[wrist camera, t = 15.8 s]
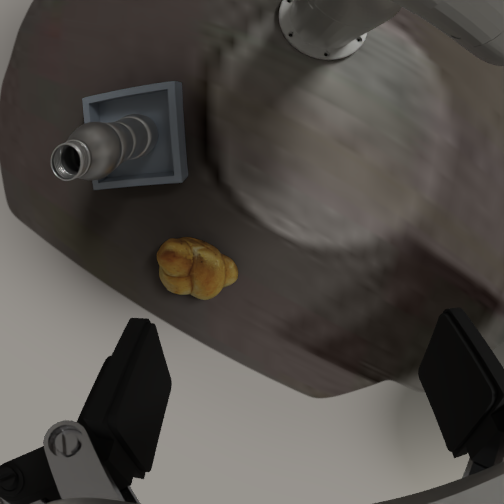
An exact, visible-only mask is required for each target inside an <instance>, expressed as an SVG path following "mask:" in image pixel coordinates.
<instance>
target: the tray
mask: <svg viewBox="0 0 504 504" xmlns="http://www.w3.org/2000/svg"><path fill="white" fill-rule="evenodd" d="M82 100H83V112H84V123H89V122H106V123H109V122H115V121H118V120H119V119H121V118H123V117H125V116H127V115H130V114H141V115H145V116H147V117H149V118H150V119H152V120H153V121H154V123H155V124H156V126H157V130H158V139H157V142H156V144H155V146H154V148H153V149H152V150H151V151H150V152H149V153H148V154H147V155H145V156H143V157H141V158H138V159H130V160H126V161H124V162H123V163H121V164H120V165H119V166H118V167H117V168H116V169H115V170H114V171H112V172H111V173H110V174H109V175H107V176H106V177H104V178H102V179H99V180H92V183H93V189H94V190H100V189H110V188H120V187H131V186H142V185H155V184H169V183H182V182H183V181H184V180H185V179H186V178H187V177H188V166H187V154H186V141H185V127H184V112H183V95H182V82H177V81H170V82H163V83H156V84H150V85H144V86H138V87H132V88H127V89H122V90H117V91H112V92H107V93H103V94H98V95H94V96H90V97H86V98H82Z"/></svg>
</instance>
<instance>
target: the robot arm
mask: <svg viewBox="0 0 504 504" xmlns="http://www.w3.org/2000/svg"><path fill="white" fill-rule="evenodd" d="M287 1H288V0H283V1H282V2H281V5H280V9H279V14H278V15H279V24H280V28H281V31H282V33H283V35H284V36H285V38H286V39H287V40H288V42H289V43H290V44H291V45H292V46H293V47H294V48H295V49H297V50H298V51H300V52H301V53H303V54H305V55H307V56H310V57H313V58H316V59H321V60H337V59H341V58H345V57H347V56H349V55H351V54H353V53H354V52H356V51H357V50H358V49H359V48H360V47H361V46H362V45H363V43H364V42H365V39H366V37H367V34H368V32H369V31H370V30H372V29H374V28H376V27H378V26H379V25H381V24H383V23H385V22H386V21H388V20H390V19H391V18H393V17H394V16H395V15H396V14H397V13H398V12H399V11H400V9H401V8H402V7H403V8H405V9H407V10H408V11H410V12H412V13H413V14H416V15H418V16H420V17H421V18H423V19H424V20H426V21H427V22H429V23H430V24H432V25H433V26H435V27H436V28H438V29H439V30H441V31H442V32H443V33H445V34H446V35H448V36H449V37H450V38H452V39H453V40H454V41H456V42H457V43H458V44H460V45H461V46H463V47H464V48H465V49H466V50H468V51H469V52H471V53H472V54H473V55H475V56H476V57H478V58H479V59H481V60H483V61H485V62H487V63H489V64H492V65H497V66H504V0H289V1H290V3H289V2H287ZM289 34H292V37H290V36H289ZM356 39H358V40H359V42H358V41H357V40H356ZM324 53H326V54H327V56H324ZM418 375H419V379H420V381H421V383H422V386H423V388H424V390H425V393H426V395H427V397H428V400H429V402H430V405H431V407H432V409H433V412H434V414H435V417H436V419H437V422H438V425H439V427H440V430H441V432H442V435H443V438H444V440H445V443H446V446H447V448H448V450H449V451H451V452H452V453H453V456H454V458H456V457H459V456H462V455H465V454H467V453H468V454H469V456H470V458H469V461H468V464H467V467H466V470H465V472H464V475H463V477H462V479H459V480H457V481H454V482H451V483H448V484H445V485H442V486H439V487H436V488H433V489H430V490H426V491H423V492H419V493H416V494H412V495H408V496H405V497H401V498H396V499H392V500H388V501H383V502H379V503H374V504H504V369H503V367H502V365H501V364H500V363H499V361H498V359H497V358H496V356H495V355H494V353H493V352H492V350H491V349H490V347H489V346H488V344H487V343H486V341H485V340H484V338H483V337H482V336H481V334H480V333H479V331H478V330H477V328H476V327H475V326H474V324H473V323H472V322H471V320H470V319H469V317H468V316H467V315H466V313H465V312H464V311H463V310H462V309H461V308H450V309H445V310H444V312H443V314H441V315H440V316H439V319H438V321H437V324H436V327H435V330H434V332H433V335H432V338H431V340H430V343H429V345H428V348H427V350H426V353H425V355H424V358H423V360H422V362H421V365H420V367H419V371H418ZM170 391H171V377H170V374H169V371H168V367H167V364H166V361H165V357H164V354H163V350H162V347H161V344H160V340H159V336H158V333H157V329H156V326H155V324H153V323H150V321H149V319H143V318H131V319H130V320H129V322H128V324H127V326H126V328H125V330H124V332H123V334H122V336H121V338H120V340H119V342H118V344H117V346H116V348H115V350H114V352H113V354H112V356H109V357H108V358H107V359H106V360H105V362H104V364H103V366H102V368H101V370H100V372H99V374H98V377H97V379H96V381H95V383H94V385H93V387H92V389H91V391H90V394H89V396H88V398H87V400H86V402H85V405H84V407H83V409H82V411H81V414H80V416H79V418H78V421H77V422H74V421H61V422H58V423H56V424H54V425H53V426H52V427H51V428H50V429H49V430H48V431H47V433H46V435H45V437H44V442H43V443H44V446H43V447H41V448H38V449H36V450H34V451H32V452H29V453H27V454H25V455H22V456H20V457H18V458H16V459H13V460H11V461H8V462H6V463H4V464H2V465H1V466H0V504H140V502H139V501H138V499H137V497H136V496H135V494H134V493H133V491H132V489H131V487H130V485H131V483H132V479H133V477H135V478H141V479H144V476H145V472H150V470H151V468H152V464H153V459H154V455H155V451H156V447H157V443H158V439H159V434H160V430H161V426H162V422H163V418H164V414H165V410H166V406H167V403H168V399H169V395H170Z"/></svg>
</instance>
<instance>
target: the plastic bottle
mask: <svg viewBox="0 0 504 504" xmlns="http://www.w3.org/2000/svg"><path fill="white" fill-rule="evenodd" d="M157 139H158V130H157V126H156V124H155V123H154V121H153V120H152V119H150V118H149V117H147V116H145V115H141V114H130V115H127V116H125V117H123V118H121V119H119V120H118V121H115V122H109V123H106V122H89V123H85V124H83V125H81V126H80V127H78V128H77V129H76V130H75V131H74V132H73V133H72V134H71V135H70V136H69V138H68V140H67V141H66V142H65V143H62V144H60V145H59V146H57V147H56V148H55V149H54V151H53V153H52V155H51V168H52V171H53V173H54V174H55V175H56V176H57V177H58V178H59V179H61V180H63V181H70V180H73V179H75V178H80V179H83V180H91V181H92V180H99V179H102V178H104V177H106V176H107V175H109V174H110V173H111V172H112V171H114V170H115V169H116V168H117V167H118V166H119V165H120V164H121V163H123V162H124V161H126V160H130V159H138V158H141V157H143V156H145V155H147V154H148V153H149V152H150V151H151V150H152V149H153V148H154V146H155V144H156V142H157Z"/></svg>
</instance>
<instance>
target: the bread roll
mask: <svg viewBox="0 0 504 504" xmlns="http://www.w3.org/2000/svg"><path fill="white" fill-rule="evenodd" d="M157 261H158V263H159V266H160V267H159V277H160V279H161V281H162V283H163V285H164V286H165V287H166V288H167V290H168V291H170V292H172V293H175V294H180V295H186V294H191V295H192V296H194V297H196V298H198V299H202V300H207V299H211V298H213V297H214V296H216V295H217V294H218V293H219V292H220V291H221V290H222V288H223V287H226V286H229V285H231V284H232V283H234V282H235V281H236V280H237V278H238V269H237V266H236V264H235V263H234V261H233V260H232V259H231V258H229V257H228V256H225V255H224V254H221V253H220V252H219V250H218V249H217V248H215V247H214V246H213V245H210V244H209V243H207V242H205V241H202V240H199V239H195V238H191V237H182V238H178V239H175V238H171V239H168V240H167V241H165V242H164V243H163V244H162V245H161V247H160V249H159V251H158V252H157Z"/></svg>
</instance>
